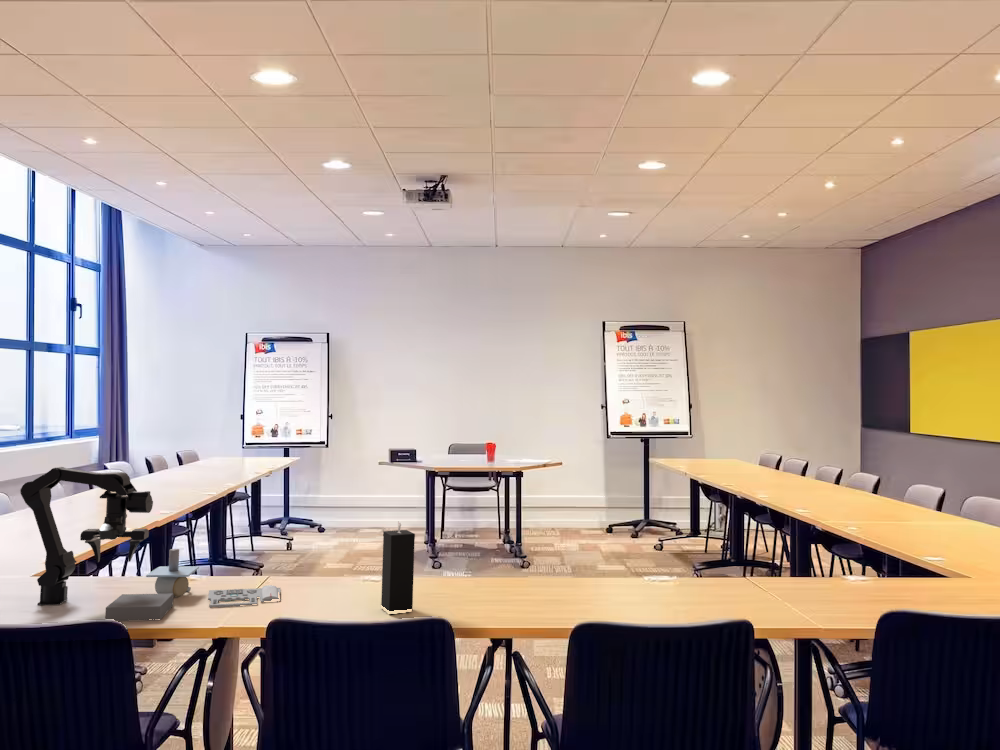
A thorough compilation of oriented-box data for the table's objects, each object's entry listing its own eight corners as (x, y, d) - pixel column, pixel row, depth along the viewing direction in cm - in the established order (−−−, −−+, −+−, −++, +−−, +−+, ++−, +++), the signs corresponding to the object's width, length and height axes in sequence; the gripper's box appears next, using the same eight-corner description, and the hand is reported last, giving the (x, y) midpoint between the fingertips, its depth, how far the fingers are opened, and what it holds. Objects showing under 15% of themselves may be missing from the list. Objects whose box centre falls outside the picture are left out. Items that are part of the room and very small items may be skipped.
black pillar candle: (388, 615, 228) (391, 524, 229) (380, 609, 235) (383, 520, 236) (412, 612, 232) (415, 523, 233) (404, 606, 239) (406, 519, 240)
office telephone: (280, 583, 258) (283, 597, 239) (280, 591, 258) (282, 605, 239) (209, 586, 250) (206, 601, 231) (208, 593, 250) (205, 609, 231)
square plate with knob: (146, 577, 238) (147, 553, 238) (159, 568, 251) (160, 545, 251) (188, 576, 240) (189, 553, 240) (199, 568, 252) (200, 545, 253)
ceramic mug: (173, 599, 240) (175, 576, 240) (153, 597, 242) (155, 573, 243) (196, 593, 250) (198, 570, 250) (177, 590, 252) (178, 567, 253)
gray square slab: (105, 621, 215) (105, 607, 215) (121, 607, 230) (122, 594, 230) (159, 620, 218) (160, 606, 218) (172, 606, 232) (173, 593, 232)
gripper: (74, 516, 226) (72, 567, 225) (140, 516, 229) (137, 566, 228) (88, 511, 237) (85, 560, 236) (150, 510, 240) (148, 559, 239)
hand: (113, 561), depth 235 cm, fingers open, 9 cm apart
